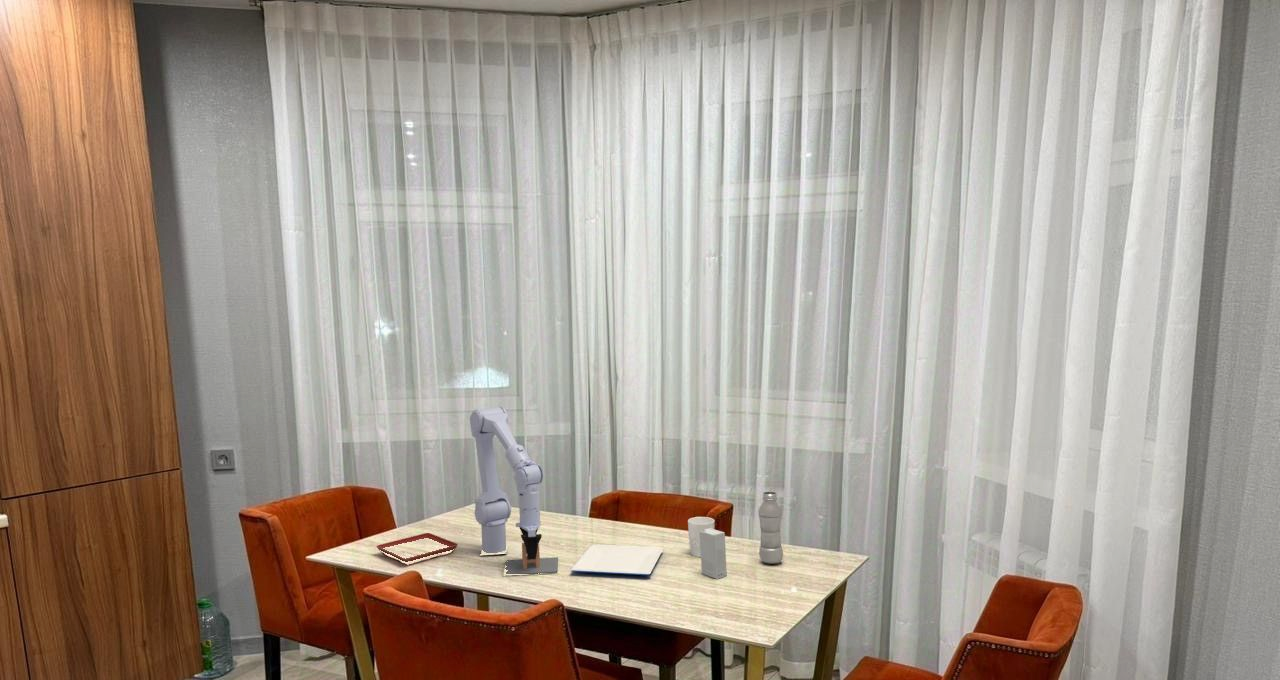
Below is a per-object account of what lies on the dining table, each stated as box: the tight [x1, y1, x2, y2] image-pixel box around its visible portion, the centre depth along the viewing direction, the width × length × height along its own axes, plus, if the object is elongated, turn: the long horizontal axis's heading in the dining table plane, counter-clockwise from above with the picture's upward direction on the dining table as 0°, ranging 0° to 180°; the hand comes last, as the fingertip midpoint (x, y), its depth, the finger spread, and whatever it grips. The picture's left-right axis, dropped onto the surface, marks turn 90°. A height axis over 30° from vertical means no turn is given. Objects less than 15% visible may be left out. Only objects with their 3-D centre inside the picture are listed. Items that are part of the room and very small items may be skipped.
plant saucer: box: [376, 532, 459, 562], centre depth 228 cm, size 18×18×3 cm
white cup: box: [687, 516, 715, 558], centre depth 222 cm, size 8×8×10 cm
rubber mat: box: [504, 556, 559, 575], centre depth 214 cm, size 12×15×1 cm
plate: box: [570, 543, 665, 576], centre depth 215 cm, size 22×22×2 cm
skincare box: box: [699, 528, 728, 580], centre depth 204 cm, size 6×4×12 cm
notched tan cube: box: [521, 542, 540, 569], centre depth 214 cm, size 5×5×6 cm
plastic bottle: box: [757, 491, 784, 565], centre depth 213 cm, size 6×7×20 cm
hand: (530, 554), depth 214 cm, fingers open, 7 cm apart
